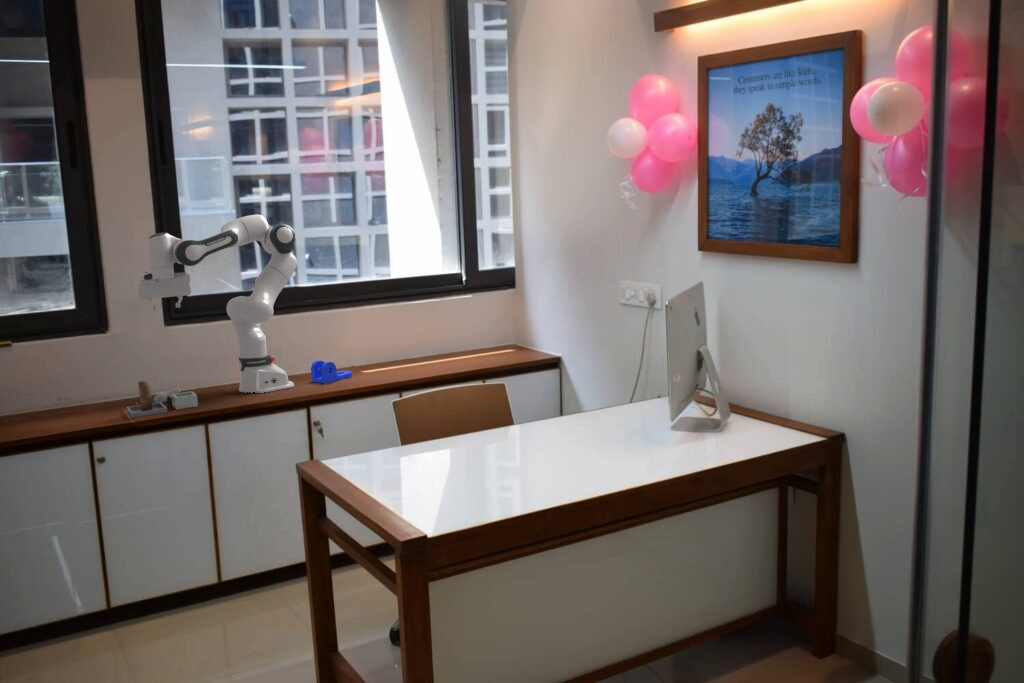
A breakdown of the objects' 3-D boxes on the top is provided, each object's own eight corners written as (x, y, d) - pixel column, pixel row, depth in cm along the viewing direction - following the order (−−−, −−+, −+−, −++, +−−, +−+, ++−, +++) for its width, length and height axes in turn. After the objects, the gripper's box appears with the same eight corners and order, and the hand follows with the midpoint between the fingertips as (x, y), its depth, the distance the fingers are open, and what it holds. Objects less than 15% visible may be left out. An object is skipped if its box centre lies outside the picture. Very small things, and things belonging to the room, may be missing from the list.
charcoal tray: (161, 408, 361) (160, 402, 361) (167, 414, 350) (167, 408, 350) (127, 413, 355) (126, 407, 354) (132, 419, 344) (131, 413, 344)
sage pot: (193, 404, 365) (192, 391, 364) (198, 408, 358) (196, 394, 357) (172, 407, 361) (171, 394, 360) (176, 411, 354) (175, 397, 353)
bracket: (324, 384, 395) (323, 363, 393) (311, 382, 400) (310, 361, 398) (356, 376, 409) (354, 356, 407) (343, 374, 414) (341, 354, 412)
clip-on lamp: (147, 419, 357) (191, 401, 367) (142, 404, 354) (187, 387, 364) (136, 411, 365) (180, 394, 375) (131, 397, 363) (175, 380, 373)
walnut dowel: (151, 409, 355) (148, 380, 353) (153, 411, 352) (150, 381, 350) (140, 411, 353) (137, 381, 351) (142, 413, 350) (139, 383, 348)
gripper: (187, 271, 376) (191, 305, 378) (134, 275, 366) (137, 310, 368) (191, 272, 370) (194, 306, 373) (136, 276, 360) (140, 311, 363)
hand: (165, 308), depth 370 cm, fingers open, 8 cm apart
